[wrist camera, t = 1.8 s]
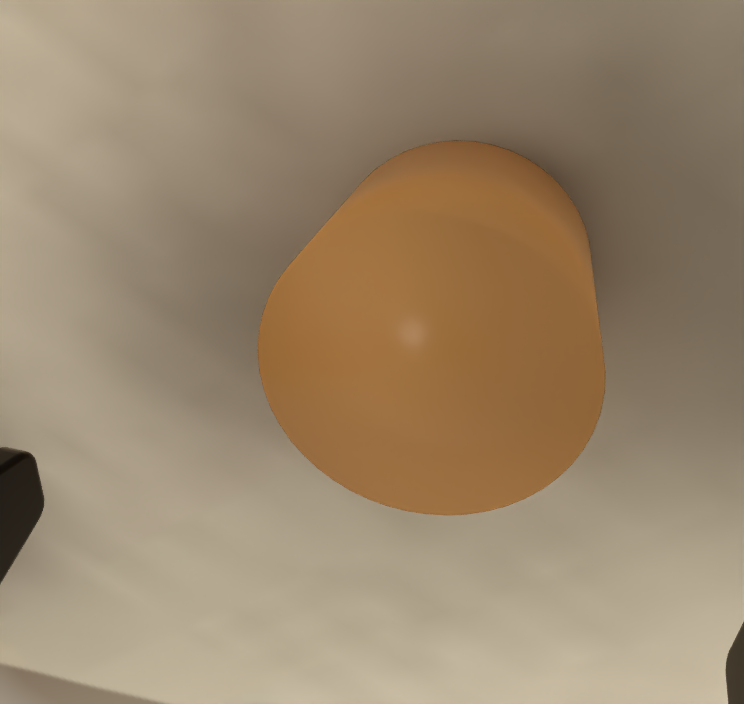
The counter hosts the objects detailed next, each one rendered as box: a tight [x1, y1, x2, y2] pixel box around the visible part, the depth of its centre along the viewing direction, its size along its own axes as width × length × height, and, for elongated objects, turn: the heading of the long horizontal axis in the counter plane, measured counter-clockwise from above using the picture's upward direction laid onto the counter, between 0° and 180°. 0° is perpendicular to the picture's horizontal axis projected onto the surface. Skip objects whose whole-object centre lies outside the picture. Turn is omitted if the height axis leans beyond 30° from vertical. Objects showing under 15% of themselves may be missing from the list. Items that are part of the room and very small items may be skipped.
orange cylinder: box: [258, 141, 605, 515], centre depth 14 cm, size 6×6×5 cm
